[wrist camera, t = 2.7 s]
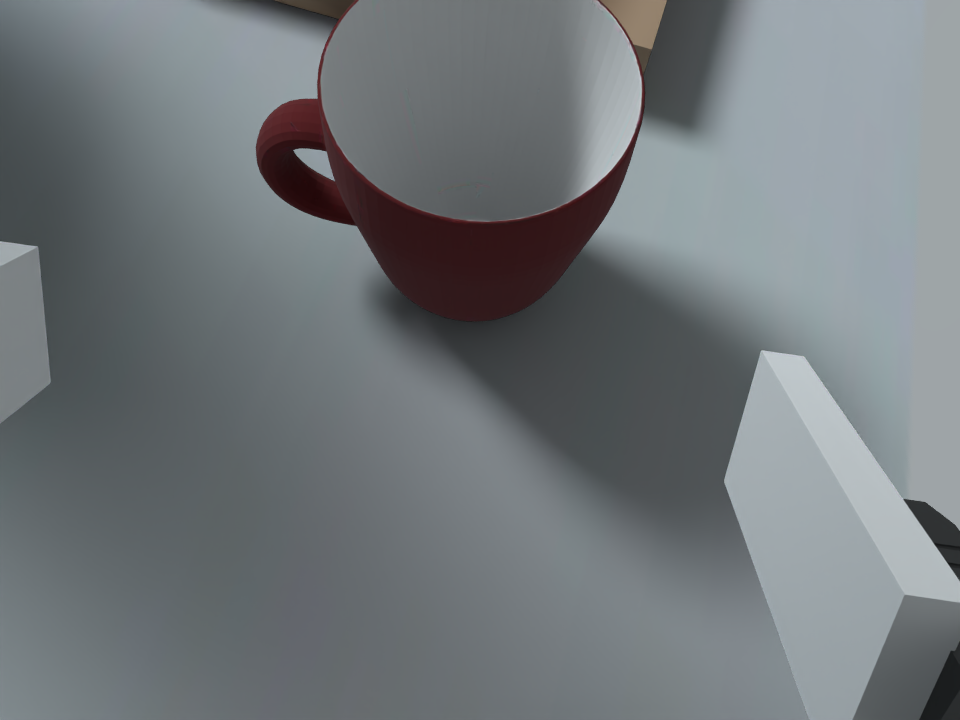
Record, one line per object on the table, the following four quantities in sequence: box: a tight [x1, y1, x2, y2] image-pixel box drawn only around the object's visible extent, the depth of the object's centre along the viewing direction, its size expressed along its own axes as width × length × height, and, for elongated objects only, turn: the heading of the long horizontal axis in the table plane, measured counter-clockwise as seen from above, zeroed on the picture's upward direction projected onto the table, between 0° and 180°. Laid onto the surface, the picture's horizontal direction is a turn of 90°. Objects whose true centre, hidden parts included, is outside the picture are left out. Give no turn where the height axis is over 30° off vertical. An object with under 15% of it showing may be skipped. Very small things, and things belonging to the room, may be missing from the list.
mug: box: [256, 0, 645, 321], centre depth 25 cm, size 10×8×10 cm
